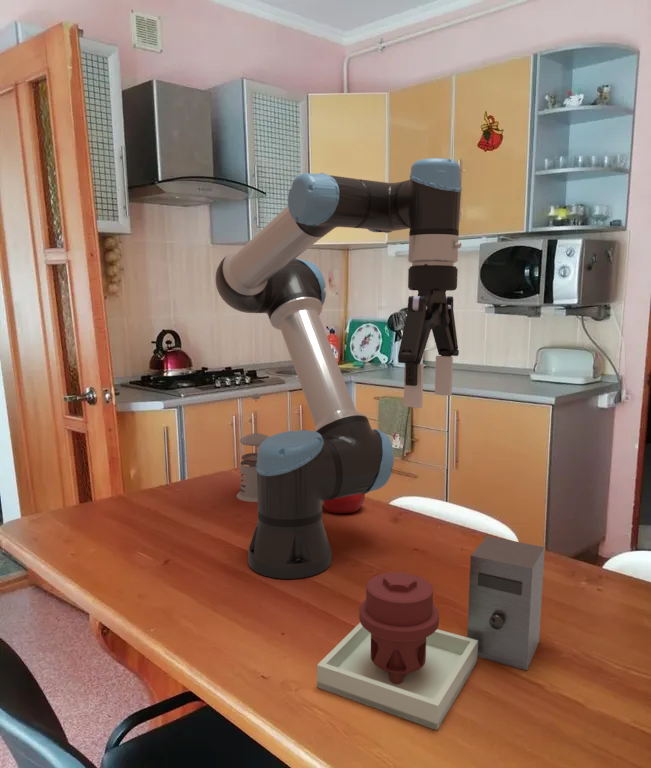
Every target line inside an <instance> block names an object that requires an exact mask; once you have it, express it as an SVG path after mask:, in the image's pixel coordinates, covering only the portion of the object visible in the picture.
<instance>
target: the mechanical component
mask: <svg viewBox="0 0 651 768" xmlns="http://www.w3.org/2000/svg"><path fill="white" fill-rule="evenodd" d="M365 593H366V595H365V597H366V598H365V599H364V600H363V601H362V602H361V604H360V605H359V612H358V613H359V615H358V617H359V623H361V625H362V626H363V627H364V628H365V629H366V630H367V631H368V632H370V633H371V660H372V662H373V663H374V664H375V665H376V666H377V667H379V668H380V669H382V670H384V671H386V672H388V675H389V679H390V681H391V682H392V683H393V684H400V683H402V682H403V679H404V677H405V676H406V675H407V674H408V673H411V672H415V671H417V670H419V669H420V668H422V667H423V666H424V664H425V661H426V637H428V636H430V635H431V634H433V633H434V632H435V631H436V630H437V629H439V626H440V625H439V624H440V611H439V609H438V607H437V606H436V605H435V604H434V587H433V585H432V584H431V582H429V581H428V580H427V579H425V578H423V577H421V576H418V575H416V574H411V573H408V572H402V571H393V572H385V573H380V574H377V575H374V576H373V577H371V578H370V579H369V580H367V583H366V592H365Z"/></svg>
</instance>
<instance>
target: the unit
mask: <svg viewBox="0 0 651 768" xmlns="http://www.w3.org/2000/svg"><path fill="white" fill-rule="evenodd" d="M545 548H546V547H545V546H540V545H536V544H529V543H525V542H520V541H514V540H510V539H505V538H504V539H503V538H498V537H494V536H489V535H486V537H485V538H484V539H483V540H482V541H481V543H479V545H478V546H477V547H476V549H475V550H474V551H473V552H472V553H471V554H470V561H469V562H470V563H469V564H470V565H469V566H470V567H469V585H468V586H469V587H468V588H469V591H468V610H467V611H468V612H467V615H468V616H467V638H471V639H474V640H478V653H477V658H481V659H485V660H488V661H492V662H495V663H498V664H502V665H505V666H509V667H513V668H517V669H520V670H524V671H525V672H526V671H528V668H529V666H530V664H531V662H532V660H533V658H534V655H535V653H536V650H537V648H538V645H539V643H540V632H541V617H542V615H541V614H542V600H543V599H542V598H543V583H544V568H545V567H544V566H545V565H544V564H545V551H546V549H545Z"/></svg>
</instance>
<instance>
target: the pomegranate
mask: <svg viewBox="0 0 651 768" xmlns="http://www.w3.org/2000/svg"><path fill="white" fill-rule="evenodd" d="M365 497H366V494H357V495H351V496H346V497H341V498H336V499H331V500H326V501H323V502H322V504H323V506H324V508H325V510H326V511H327V512H329V513H333V514H334V513H335V514H352V513H355V512H356V511H358V510H359V509H360V508H361V507H362V506H363V504H364V502H365V499H366V498H365Z"/></svg>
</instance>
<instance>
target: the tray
mask: <svg viewBox="0 0 651 768" xmlns="http://www.w3.org/2000/svg"><path fill="white" fill-rule="evenodd" d="M477 653H478V640H474V639H471V638H467V637H466V636H463V635H459V634H457V633H453V632H449V631H445V630H442V629H439V628H437V630H436V631H435V632H434V633H433V634H431V635H430V636H428V637H426V661H425V664H424V666H423V667H422V668H420V669H419V670H417V671H415V672H411V673H408V674H407V675H406V676H405V677H404V679H403V682H402V683H400V684H393V683H392V682H391V681H390V679H389V675H388V672H386V671H384V670H382V669H380V668H379V667H377V666H376V665H375V664H374V663H373V662H372V660H371V633H370V632H368V631H367V630H366V629H365V628H364V627H363V626H362V625H361V623H360V622H359V623H358V624H357V625H356V626H354V628H353V629H352V630H351V631H349V633H348V634H347V635H346V636H345V637H344V638H343V639H341V640H340V642H338V643H337V645H336V646H334V648H332V650H331V651H330V652H329V653H328V654H327V655H326V656H324V658H322V660H320V662H318V663H317V665H316V667H317V668H316V670H317V671H316V688H318V689H321V690H323V691H326V692H328V693H332V694H335V695H336V696H337V695H338V696H340V697H343V698H345V699H349V700H351V701H354V702H357V703H359V704H362V705H365V706H368V707H371V708H373V709H376V710H379V711H382V712H384V713H387V714H390V715H393V716H395V717H398V718H401V719H404V720H407V721H410V722H412V723H414V724H418V725H421V726H423V727H426V728H429V729H432V730H434V731H438V729H439V728H440V727H441V724H442V723H443V721H444V719H445V718H446V716H447V715H448V712H449V711H450V709H451V707H452V706H453V704H454V702H455V701H456V699H457V697H458V696H459V693H460V692H461V690H462V689H463V687H464V685H465V683H466V682H467V680H468V678H469V677H470V675H471V673H472V672H473V670H474V668H475V667H476V664H477V663H478V656H477Z"/></svg>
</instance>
